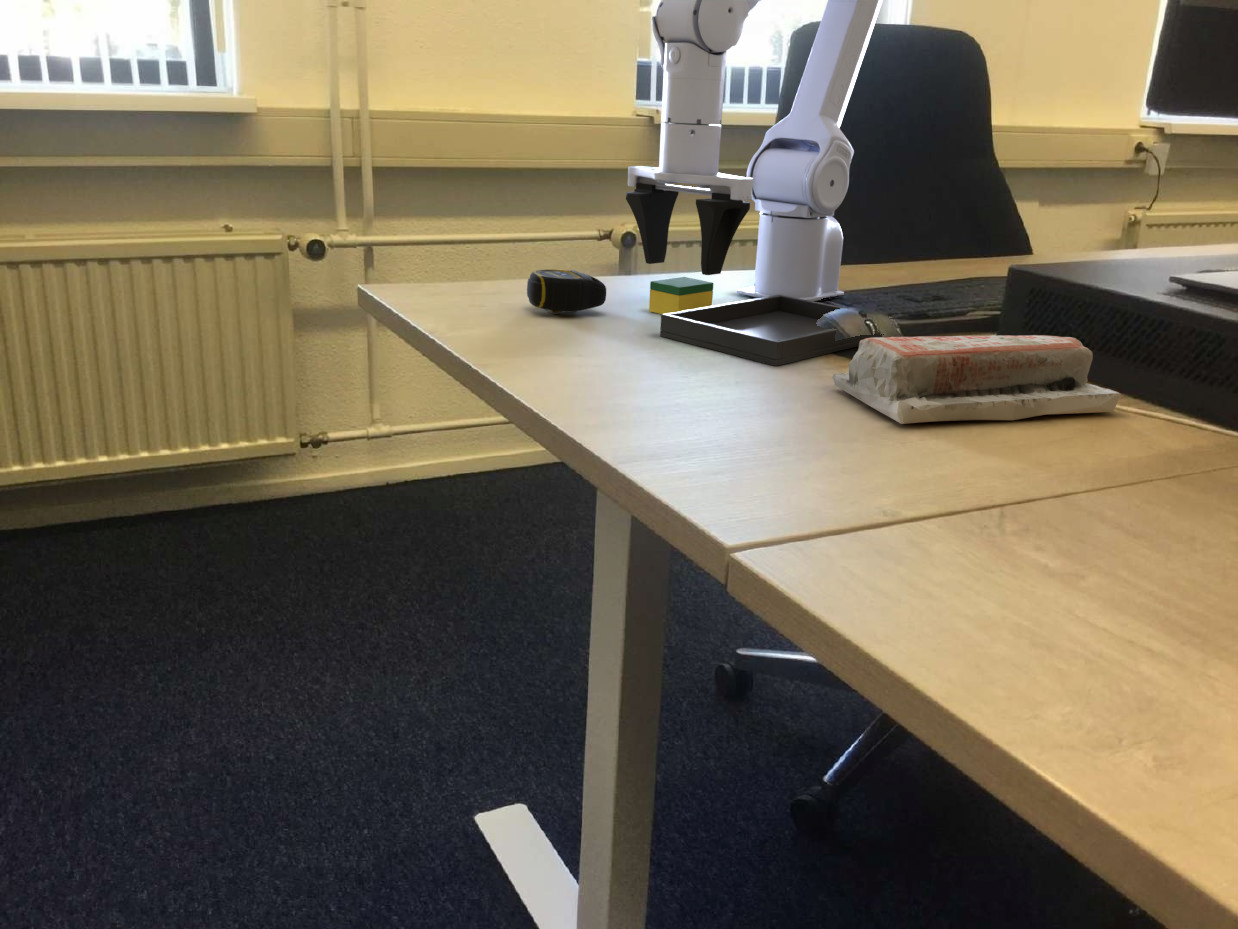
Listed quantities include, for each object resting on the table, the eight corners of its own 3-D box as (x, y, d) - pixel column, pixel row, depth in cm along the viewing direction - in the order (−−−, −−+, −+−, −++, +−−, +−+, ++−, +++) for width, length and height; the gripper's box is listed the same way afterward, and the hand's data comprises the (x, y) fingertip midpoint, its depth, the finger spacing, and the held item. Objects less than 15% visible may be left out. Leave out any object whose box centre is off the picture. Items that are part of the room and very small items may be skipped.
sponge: (682, 305, 107) (684, 276, 106) (711, 312, 105) (713, 282, 104) (648, 311, 104) (650, 281, 103) (677, 318, 101) (679, 287, 100)
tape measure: (608, 315, 101) (610, 277, 100) (544, 320, 98) (545, 280, 97) (577, 302, 107) (578, 266, 106) (516, 306, 104) (516, 268, 103)
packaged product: (909, 358, 68) (836, 326, 77) (900, 428, 70) (830, 389, 79) (1132, 349, 73) (1040, 319, 82) (1119, 415, 75) (1030, 379, 84)
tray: (777, 314, 105) (779, 294, 104) (891, 338, 96) (893, 317, 96) (659, 335, 94) (660, 314, 93) (775, 366, 85) (778, 342, 84)
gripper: (607, 119, 100) (602, 261, 105) (721, 127, 91) (710, 283, 95) (658, 120, 105) (651, 255, 110) (771, 128, 95) (759, 276, 100)
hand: (682, 268), depth 103 cm, fingers open, 7 cm apart
